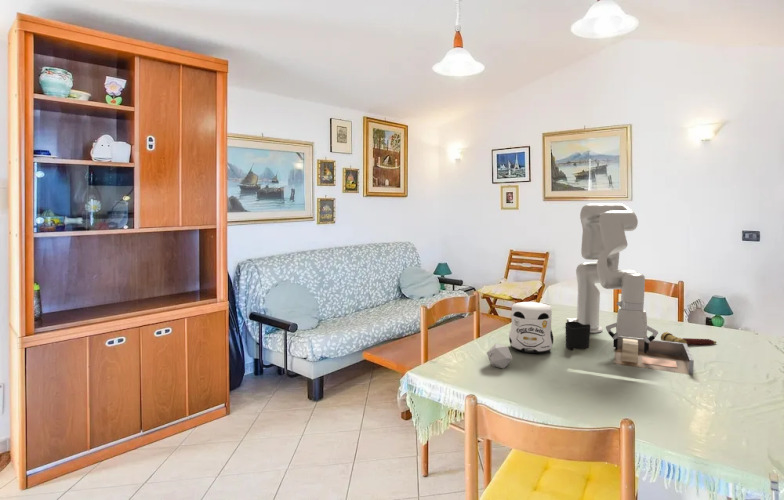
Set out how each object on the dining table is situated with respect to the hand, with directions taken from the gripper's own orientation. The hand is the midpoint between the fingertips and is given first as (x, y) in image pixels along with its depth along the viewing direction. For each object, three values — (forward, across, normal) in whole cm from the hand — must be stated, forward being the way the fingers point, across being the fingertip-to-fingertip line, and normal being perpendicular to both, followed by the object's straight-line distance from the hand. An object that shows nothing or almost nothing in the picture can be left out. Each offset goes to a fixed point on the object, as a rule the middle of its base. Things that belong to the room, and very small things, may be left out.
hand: (630, 350), depth 168 cm
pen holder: (+4, -19, +8) cm, 21 cm away
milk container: (+4, -36, -2) cm, 36 cm away
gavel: (+4, +23, +32) cm, 40 cm away
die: (+4, -43, -26) cm, 50 cm away
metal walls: (+4, +7, +2) cm, 8 cm away
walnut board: (+4, +7, +2) cm, 8 cm away
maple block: (+3, 0, 0) cm, 3 cm away
